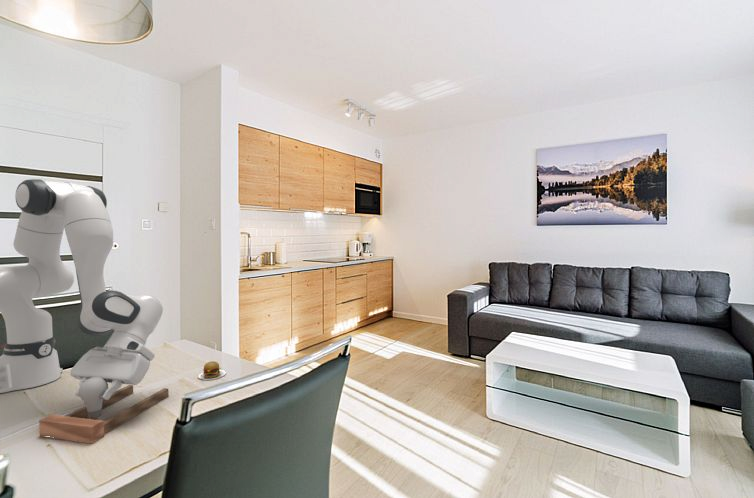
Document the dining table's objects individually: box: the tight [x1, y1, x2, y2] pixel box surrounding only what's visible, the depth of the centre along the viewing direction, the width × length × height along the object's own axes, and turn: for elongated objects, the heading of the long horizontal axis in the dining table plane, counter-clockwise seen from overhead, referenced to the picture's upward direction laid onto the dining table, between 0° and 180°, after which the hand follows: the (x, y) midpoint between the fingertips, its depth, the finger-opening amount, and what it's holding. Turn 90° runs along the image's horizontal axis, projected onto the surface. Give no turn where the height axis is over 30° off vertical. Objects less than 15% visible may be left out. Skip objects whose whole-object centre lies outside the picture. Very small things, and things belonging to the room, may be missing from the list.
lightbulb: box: [77, 377, 109, 420], centre depth 95 cm, size 6×6×11 cm
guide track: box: [38, 384, 169, 444], centre depth 100 cm, size 25×16×4 cm, turn 169°
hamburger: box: [197, 360, 227, 381], centre depth 128 cm, size 12×12×6 cm
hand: (91, 397), depth 95 cm, fingers closed on lightbulb, 6 cm apart
